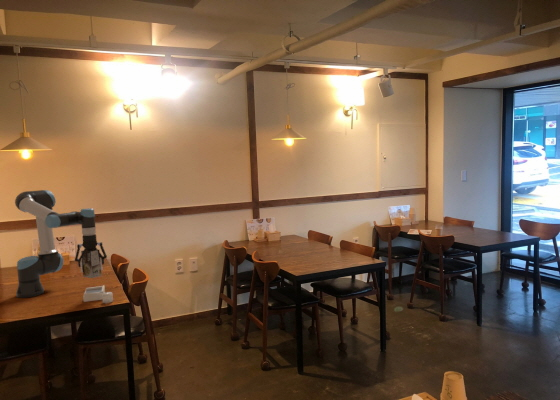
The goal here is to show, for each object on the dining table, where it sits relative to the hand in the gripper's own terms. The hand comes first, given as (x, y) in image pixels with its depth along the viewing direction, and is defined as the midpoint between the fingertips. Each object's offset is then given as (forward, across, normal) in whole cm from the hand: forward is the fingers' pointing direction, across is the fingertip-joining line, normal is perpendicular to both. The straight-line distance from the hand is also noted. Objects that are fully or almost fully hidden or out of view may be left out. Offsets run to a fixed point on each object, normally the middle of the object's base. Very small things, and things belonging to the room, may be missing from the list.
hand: (91, 271), depth 259 cm
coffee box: (+3, 0, 0) cm, 3 cm away
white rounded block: (+16, +8, -13) cm, 22 cm away
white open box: (+16, 0, 0) cm, 16 cm away
